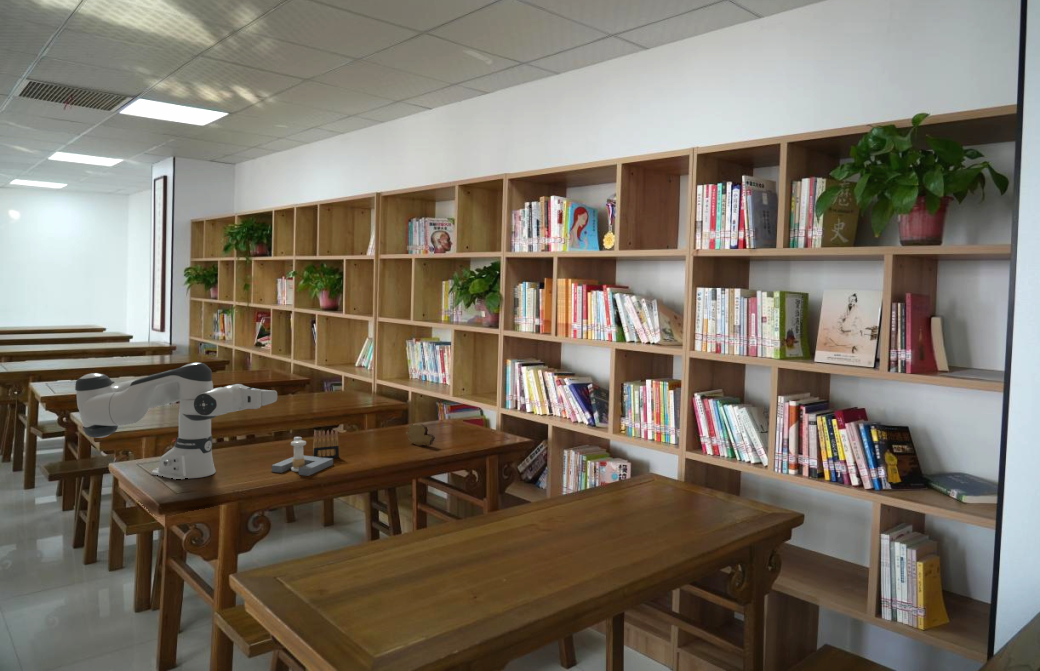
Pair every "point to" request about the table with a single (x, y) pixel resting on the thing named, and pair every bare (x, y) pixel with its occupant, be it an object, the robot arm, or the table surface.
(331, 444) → the ammunition clip
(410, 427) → the wooden carving
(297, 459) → the bobbin
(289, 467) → the notched board
